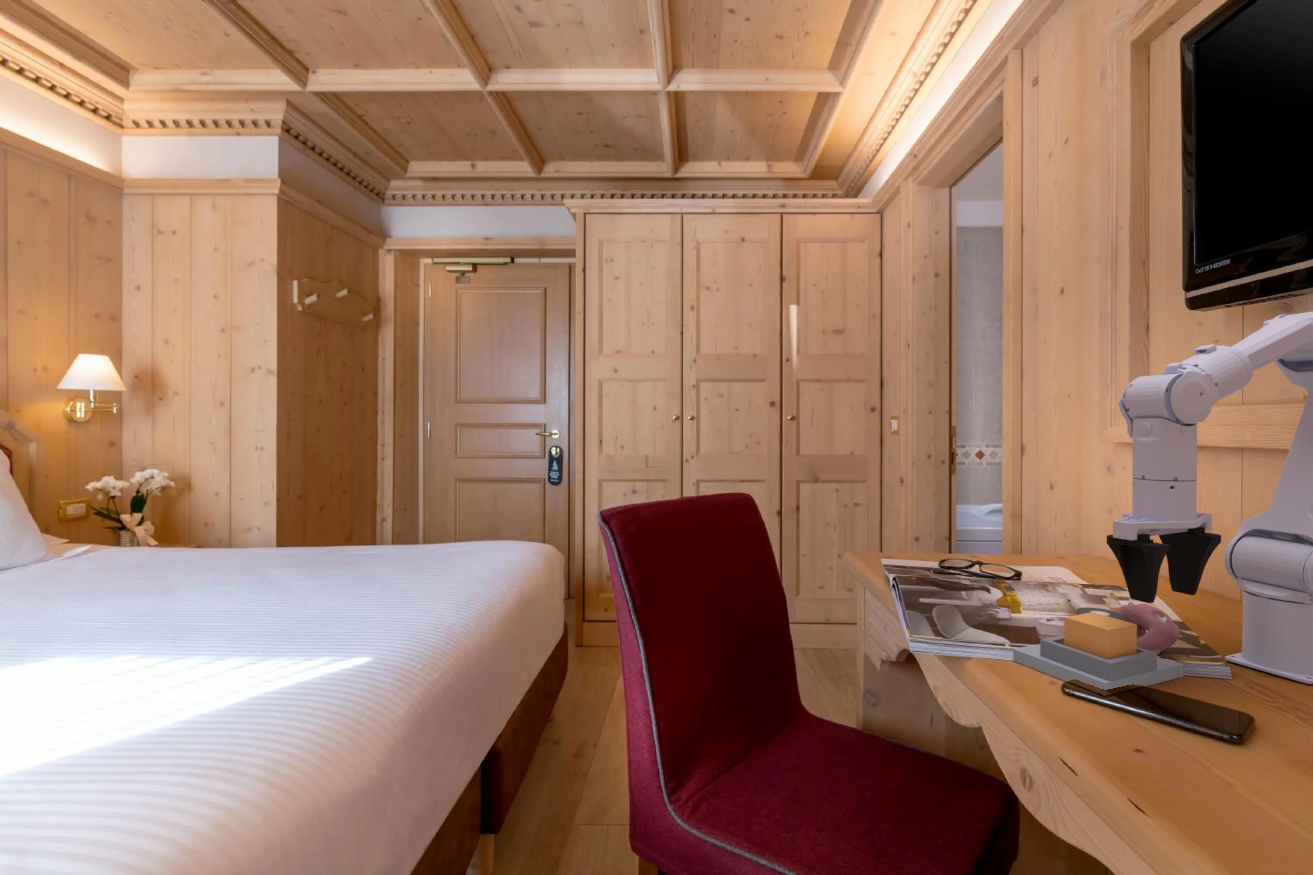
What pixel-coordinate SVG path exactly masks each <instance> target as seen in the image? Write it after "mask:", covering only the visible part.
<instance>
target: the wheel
mask: <svg viewBox="0 0 1313 875" xmlns="http://www.w3.org/2000/svg"><path fill="white" fill-rule="evenodd" d="M1115 611H1116V610H1115ZM1115 611H1113V610H1110V609H1105V608H1100V607H1089V606H1088V607H1085V606H1084V607H1079V608H1076V614H1075V615H1079V614H1085V613H1091V612H1093V613H1097V614H1101V615H1104V616H1108V617H1112V618H1115V619H1119V620H1122V621H1125V617H1124V615H1122V614H1120V613H1118V612H1115Z"/></svg>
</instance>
